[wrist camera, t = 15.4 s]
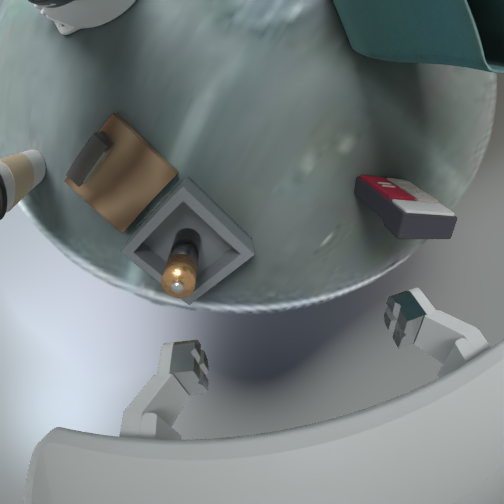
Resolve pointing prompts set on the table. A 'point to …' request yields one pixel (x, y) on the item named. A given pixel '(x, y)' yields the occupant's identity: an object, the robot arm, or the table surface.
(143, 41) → the table surface
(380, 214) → the grey box
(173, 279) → the battery cell
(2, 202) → the coffee cup
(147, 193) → the plate
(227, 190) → the table surface
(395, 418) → the robot arm
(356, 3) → the flower pot
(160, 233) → the bin
